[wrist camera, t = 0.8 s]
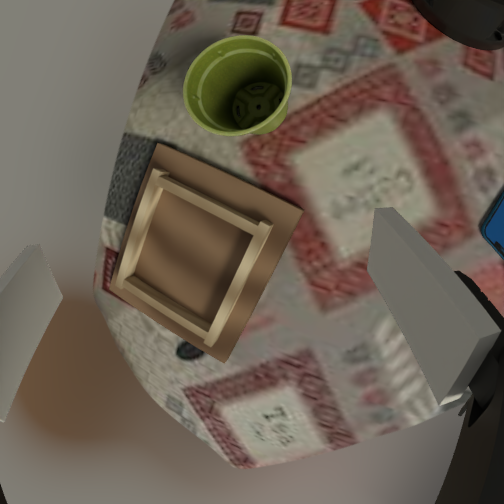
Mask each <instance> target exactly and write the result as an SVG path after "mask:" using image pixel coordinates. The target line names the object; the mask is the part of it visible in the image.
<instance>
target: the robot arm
mask: <svg viewBox="0 0 504 504" xmlns="http://www.w3.org/2000/svg"><path fill="white" fill-rule="evenodd" d="M412 1H413V3H414V5H415V6H416V7H417V9H418V10H419V11H420V12H421V14H422V15H423V16H424V17H425V18H426V19H427V20H428V21H429V22H430V23H431V24H432V25H434V26H435V27H436V28H437V29H439V30H440V31H441V32H443V33H444V34H446V35H447V36H449V37H450V38H452V39H454V40H456V41H458V42H460V43H462V44H464V45H467V46H469V47H472V48H476V49H480V50H497V49H500V48H502V47H504V0H412ZM367 271H368V273H369V275H370V276H371V278H372V280H373V281H374V283H375V285H376V286H377V288H378V290H379V292H380V293H381V295H382V297H383V298H384V300H385V302H386V304H387V305H388V307H389V309H390V311H391V313H392V314H393V316H394V318H395V320H396V322H397V323H398V325H399V327H400V329H401V331H402V333H403V335H404V336H405V338H406V340H407V342H408V344H409V346H410V348H411V350H412V352H413V354H414V355H415V357H416V359H417V361H418V363H419V365H420V367H421V369H422V371H423V373H424V375H425V377H426V379H427V381H428V384H429V386H430V388H431V390H432V392H433V394H434V396H435V398H436V400H437V403H438V405H439V406H440V405H443V404H446V403H448V402H451V401H454V400H456V399H459V398H460V397H461V396H462V394H463V393H464V391H465V390H466V388H467V387H468V386H469V388H470V390H471V391H472V393H473V394H472V395H471V397H470V398H469V399H468V401H467V402H466V403H465V405H464V406H463V407H462V409H461V410H460V412H459V414H458V415H459V416H462V414H463V413H464V412H465V411H466V414H465V418H464V422H463V425H462V429H461V432H460V436H459V439H458V443H457V446H456V449H455V452H454V455H453V458H452V461H451V464H450V467H449V469H448V472H447V475H446V477H445V480H444V483H443V485H442V488H441V490H440V493H439V495H438V497H437V500H436V502H435V504H504V318H503V316H502V315H501V314H500V313H499V311H498V310H497V309H496V308H495V306H494V305H493V304H492V303H491V301H490V300H489V301H488V298H487V297H486V295H485V294H484V293H483V292H481V289H480V288H479V287H478V286H477V285H476V284H475V282H474V281H473V280H472V279H471V278H469V277H468V276H466V275H465V274H463V273H462V272H460V271H453V270H452V269H451V268H450V267H449V266H448V264H447V263H446V262H445V261H444V260H443V259H442V258H441V257H440V256H439V254H438V253H437V252H436V251H435V250H434V249H433V248H432V247H431V246H430V245H429V244H428V243H427V241H426V240H425V239H424V238H423V237H422V236H421V235H420V234H419V233H418V232H417V231H416V230H415V229H414V228H413V227H412V226H411V225H410V224H409V223H408V222H407V221H406V220H405V219H404V218H403V217H402V216H401V215H400V214H399V213H398V212H397V211H396V210H395V209H394V208H393V207H390V208H375V211H374V221H373V229H372V238H371V246H370V253H369V260H368V267H367ZM62 298H63V296H62V294H61V292H60V290H59V288H58V286H57V283H56V281H55V279H54V277H53V274H52V272H51V270H50V267H49V265H48V263H47V261H46V258H45V256H44V253H43V251H42V248H41V246H40V244H37V245H30V246H27V247H26V248H25V249H24V250H23V251H22V253H21V254H20V255H19V256H18V257H17V258H16V259H15V261H14V262H13V263H12V264H11V265H10V267H9V268H8V269H7V270H6V271H5V273H4V274H3V275H2V277H1V278H0V421H1V422H5V420H6V417H7V414H8V412H9V409H10V407H11V404H12V402H13V399H14V397H15V394H16V392H17V389H18V387H19V385H20V382H21V380H22V378H23V376H24V373H25V371H26V369H27V367H28V365H29V362H30V360H31V358H32V356H33V354H34V352H35V350H36V348H37V346H38V344H39V342H40V340H41V338H42V336H43V334H44V332H45V330H46V328H47V326H48V324H49V322H50V320H51V318H52V317H53V315H54V313H55V311H56V309H57V307H58V306H59V304H60V302H61V300H62ZM466 409H467V410H466ZM0 504H7V501H6V499H5V496H4V494H3V490H2V487H1V484H0Z"/></svg>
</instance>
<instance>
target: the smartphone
mask: <svg viewBox="0 0 504 504" xmlns="http://www.w3.org/2000/svg"><path fill="white" fill-rule="evenodd" d="M481 233H482V236H483V238H484V239H485V240H486V241H487V242H488V243H489V244H490V245H491V246H492V247H493V249H494V250H495V251H496V252H497V253H498V254H499V255H500V256H501V258H502V259H503V260H504V191H503V193H502V195H501V196H500V198H499V200H498V201H497V203H496V205H495V206H494V208H493V209H492V211H491V213H490V214H489V216H488V217H487V219H486V220H485V222H484V224H483V225H482V228H481Z"/></svg>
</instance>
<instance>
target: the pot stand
mask: <svg viewBox="0 0 504 504" xmlns="http://www.w3.org/2000/svg"><path fill="white" fill-rule="evenodd" d="M303 212H304V210H303V209H301V208H299V207H297V206H295V205H293V204H291V203H289V202H287V201H285V200H283V199H281V198H279V197H277V196H275V195H273V194H271V193H269V192H267V191H265V190H263V189H261V188H259V187H257V186H255V185H253V184H251V183H248V182H246V181H244V180H242V179H240V178H238V177H236V176H234V175H232V174H229V173H227V172H225V171H223V170H221V169H219V168H216V167H214V166H212V165H210V164H208V163H205V162H203V161H201V160H199V159H196V158H194V157H192V156H190V155H187V154H185V153H183V152H181V151H178V150H176V149H174V148H171V147H169V146H167V145H164V144H160V143H157V146H156V148H155V151H154V153H153V156H152V158H151V161H150V163H149V166H148V169H147V171H146V174H145V177H144V179H143V182H142V185H141V187H140V190H139V193H138V196H137V199H136V202H135V205H134V208H133V210H132V213H131V216H130V220H129V223H128V226H127V229H126V232H125V235H124V239H123V242H122V245H121V248H120V252H119V255H118V259H117V262H116V266H115V269H114V273H113V277H112V281H111V284H110V288H109V289H110V290H111V291H112V292H114V293H115V294H117V295H118V296H119V297H121V298H122V299H124V300H125V301H127V302H128V303H129V304H131V305H132V306H134V307H135V308H137V309H138V310H140V311H141V312H143V313H144V314H145V315H147V316H148V317H150V318H151V319H153V320H154V321H156V322H158V323H159V324H161V325H162V326H164V327H165V328H167V329H168V330H170V331H171V332H173V333H175V334H176V335H178V336H179V337H181V338H183V339H184V340H186V341H187V342H189V343H191V344H192V345H194V346H196V347H197V348H199V349H201V350H202V351H204V352H206V353H207V354H209V355H211V356H212V357H214V358H216V359H217V360H219V361H221V362H223V363H225V362H226V361H227V359H228V358H229V356H230V354H231V352H232V350H233V348H234V347H235V345H236V343H237V341H238V339H239V337H240V335H241V333H242V331H243V330H244V328H245V326H246V324H247V322H248V320H249V318H250V316H251V314H252V312H253V311H254V309H255V307H256V305H257V303H258V301H259V299H260V297H261V295H262V293H263V291H264V289H265V287H266V285H267V283H268V282H269V280H270V278H271V276H272V274H273V272H274V270H275V268H276V266H277V264H278V262H279V260H280V258H281V256H282V254H283V252H284V250H285V248H286V246H287V244H288V242H289V240H290V238H291V236H292V234H293V232H294V230H295V228H296V226H297V224H298V222H299V220H300V218H301V216H302V214H303Z"/></svg>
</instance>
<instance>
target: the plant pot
mask: <svg viewBox="0 0 504 504" xmlns="http://www.w3.org/2000/svg"><path fill="white" fill-rule="evenodd" d="M256 86H263V87H264V88H263V89H256V90H251V89H252V88H253V87H256ZM291 86H292V74H291V69H290V65H289V63H288V61H287V59H286V57H285V55H284V54H283V52H282V51H281V50H280V49H279V48H278V47H276V46H275V45H274V44H272V43H271V42H269V41H267V40H265V39H262V38H260V37H256V36H248V35H240V36H234V37H229V38H225V39H222V40H220V41H218V42H216V43H214V44H212V45H211V46H209V47H208V48H206V49H205V50H204V51H203V52H201V53H200V54H199V56H198V57H197V58H196V59H195V60H194V61H193V63H192V64H191V66H190V68H189V69H188V71H187V74H186V77H185V80H184V85H183V98H184V103H185V106H186V109H187V111H188V113H189V115H190V116H191V117H192V119H193V120H194V121H195V122H196V123H197V124H198V125H199V126H201V127H202V128H203V129H205V130H207V131H209V132H211V133H214V134H218V135H223V136H239V135H244V134H248V133H251V134H265V133H269V132H271V131H273V130H275V129H276V128H277V127H278V126H279V125H280V124H281V123H282V122H283V120H284V119H285V117H286V114H287V110H288V102H287V100H288V98H289V95H290V92H291ZM279 99H282V102H281V103H279ZM257 105H261V108H260V109H257ZM237 106H240V110H239V112H240V117H239V116H237V111H236V109H237Z"/></svg>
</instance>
